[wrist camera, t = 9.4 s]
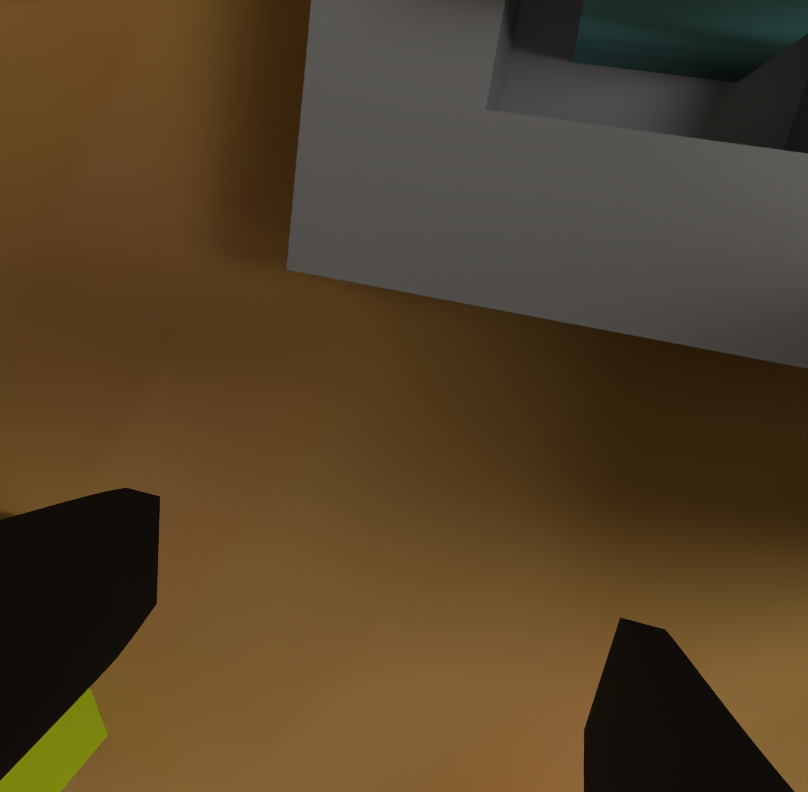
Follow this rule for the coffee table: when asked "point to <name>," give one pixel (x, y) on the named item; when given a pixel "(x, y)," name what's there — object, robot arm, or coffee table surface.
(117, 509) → the robot arm
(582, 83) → the well block
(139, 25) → the coffee table surface
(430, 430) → the coffee table surface
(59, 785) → the puzzle toy
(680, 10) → the teal peg
